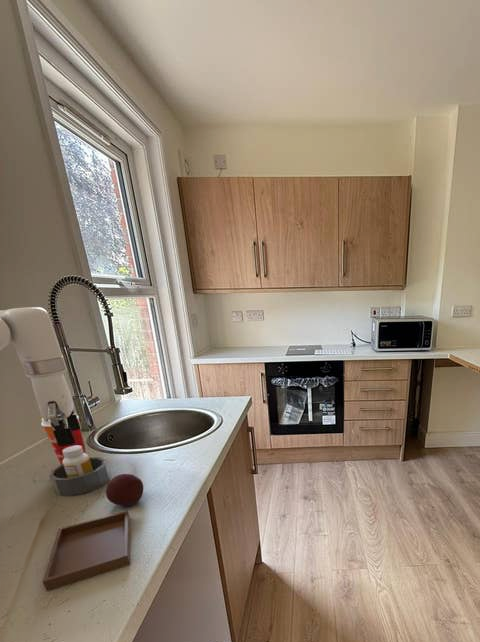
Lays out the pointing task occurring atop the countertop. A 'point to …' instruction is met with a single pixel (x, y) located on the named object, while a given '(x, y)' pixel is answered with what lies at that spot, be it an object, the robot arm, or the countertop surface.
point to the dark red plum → (124, 489)
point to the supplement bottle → (76, 461)
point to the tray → (89, 550)
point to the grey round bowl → (80, 479)
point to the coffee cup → (53, 440)
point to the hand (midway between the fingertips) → (70, 437)
